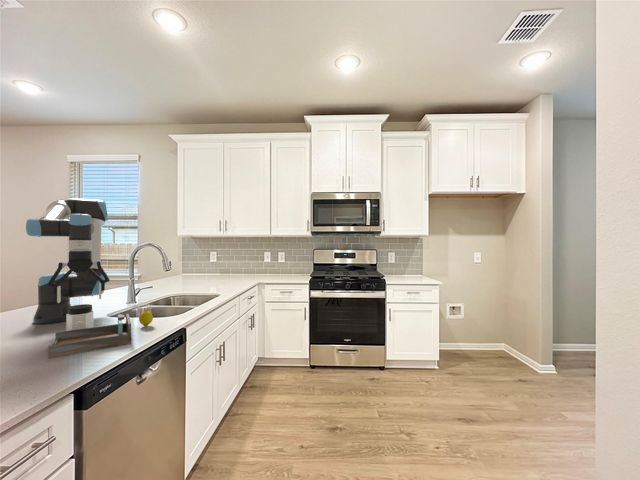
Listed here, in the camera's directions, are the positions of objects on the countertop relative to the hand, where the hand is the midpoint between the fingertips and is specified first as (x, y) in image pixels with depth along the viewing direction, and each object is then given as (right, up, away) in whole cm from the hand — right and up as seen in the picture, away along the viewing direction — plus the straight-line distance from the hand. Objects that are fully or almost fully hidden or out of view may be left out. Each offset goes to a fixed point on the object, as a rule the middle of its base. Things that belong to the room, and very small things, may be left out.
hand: (80, 300), depth 124 cm
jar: (0, -15, 0) cm, 15 cm away
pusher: (+20, -14, -4) cm, 25 cm away
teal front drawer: (+13, -15, -10) cm, 22 cm away
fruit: (+21, -15, +12) cm, 28 cm away
